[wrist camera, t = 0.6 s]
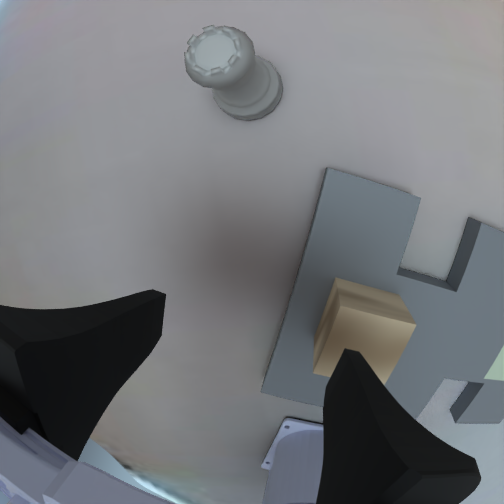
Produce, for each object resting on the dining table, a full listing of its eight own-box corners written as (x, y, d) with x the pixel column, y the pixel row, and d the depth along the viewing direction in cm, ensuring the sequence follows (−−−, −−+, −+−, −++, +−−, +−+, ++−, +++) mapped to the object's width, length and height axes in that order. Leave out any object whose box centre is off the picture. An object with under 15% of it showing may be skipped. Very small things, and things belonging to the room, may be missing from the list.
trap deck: (493, 411, 21) (499, 423, 19) (264, 376, 24) (260, 392, 22) (569, 267, 16) (581, 274, 14) (326, 167, 19) (328, 168, 17)
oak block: (373, 350, 19) (382, 387, 16) (314, 336, 20) (312, 373, 16) (399, 294, 18) (416, 324, 14) (335, 277, 18) (340, 305, 15)
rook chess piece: (283, 59, 17) (265, 3, 9) (283, 121, 18) (264, 94, 11) (218, 62, 18) (168, 15, 10) (216, 122, 19) (160, 101, 12)
